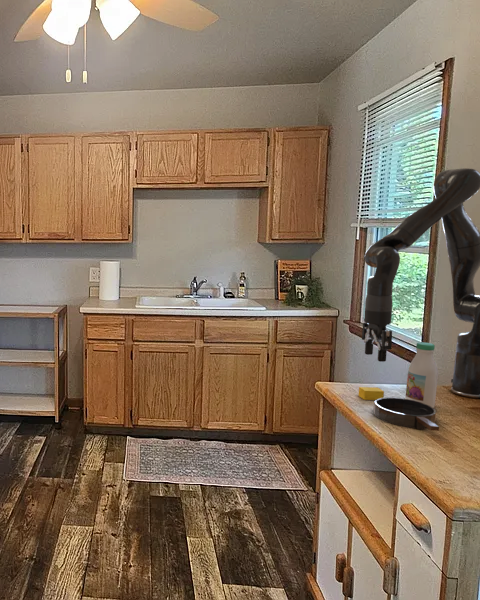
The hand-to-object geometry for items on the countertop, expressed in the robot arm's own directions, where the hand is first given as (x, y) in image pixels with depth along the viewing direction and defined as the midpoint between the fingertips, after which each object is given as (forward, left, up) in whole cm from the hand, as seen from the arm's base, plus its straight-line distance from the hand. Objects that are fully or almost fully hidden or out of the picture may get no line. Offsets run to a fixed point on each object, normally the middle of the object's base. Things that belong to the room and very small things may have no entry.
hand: (374, 357), depth 161 cm
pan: (-1, +17, -14) cm, 22 cm away
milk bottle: (-11, +7, -14) cm, 19 cm away
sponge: (0, 0, -14) cm, 14 cm away
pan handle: (-1, +28, -14) cm, 31 cm away
